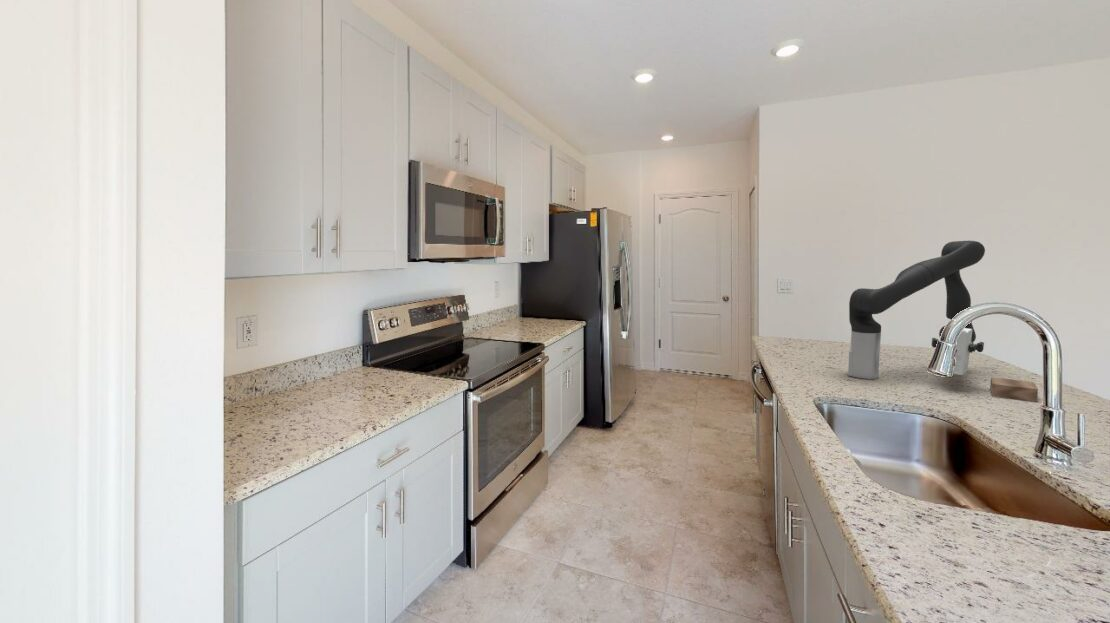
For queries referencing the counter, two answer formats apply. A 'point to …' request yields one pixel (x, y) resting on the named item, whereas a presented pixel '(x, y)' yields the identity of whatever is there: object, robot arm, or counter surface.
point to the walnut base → (1013, 389)
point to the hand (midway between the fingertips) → (956, 348)
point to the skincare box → (963, 352)
